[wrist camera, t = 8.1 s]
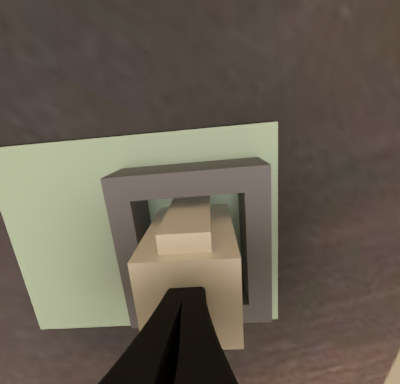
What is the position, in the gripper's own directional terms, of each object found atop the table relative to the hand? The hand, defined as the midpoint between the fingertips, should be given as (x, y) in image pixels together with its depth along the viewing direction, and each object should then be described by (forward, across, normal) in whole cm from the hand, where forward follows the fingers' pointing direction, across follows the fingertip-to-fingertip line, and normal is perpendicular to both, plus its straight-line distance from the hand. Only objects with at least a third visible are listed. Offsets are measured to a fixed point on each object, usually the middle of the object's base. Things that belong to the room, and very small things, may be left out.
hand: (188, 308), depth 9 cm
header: (+7, +4, 0) cm, 8 cm away
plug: (+6, 0, 0) cm, 6 cm away
